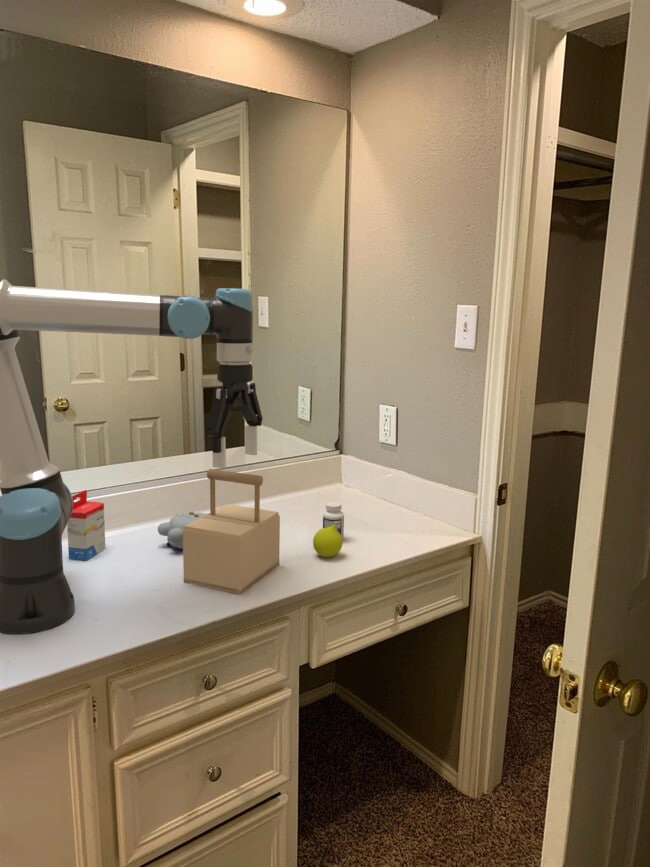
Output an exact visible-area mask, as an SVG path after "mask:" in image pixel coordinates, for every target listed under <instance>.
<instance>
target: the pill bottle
mask: <svg viewBox="0 0 650 867" xmlns="http://www.w3.org/2000/svg"><path fill="white" fill-rule="evenodd" d="M344 515H345V514H344V512H343V511H342V503H341V502H337V501H329V502H326V503H325V511H324V512H323V514H322V528H326V527H331V526H332V525H333V524H334V522H335V521H336V522H337V524H336V528H337V531H338V532H339V533H340V535H341V537H342V542H343V541H344V526H345V525H344V523H345V516H344Z"/></svg>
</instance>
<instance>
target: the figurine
mask: <svg viewBox="0 0 650 867" xmlns="http://www.w3.org/2000/svg"><path fill="white" fill-rule="evenodd" d="M207 514H208V513H204V512H194V511H189V512H183V513H179V514H178V513H177V514H176V515H173V516H172V517H171V518H170V520H169V521H166V522H162V523H160V524H159V525H158V527H157V532H158V535H160V536H163V537H167V539H166V540H167V542H166V546H167V547H168V548H170V547H171V548H173V549H174V551H175V553H181V552H182V553H183V529H184V526H185V525H187V524H189V523H191V522H193V521H195V520H197V519H199V518H201V517H202V516H204V515H207Z"/></svg>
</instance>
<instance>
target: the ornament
mask: <svg viewBox="0 0 650 867" xmlns="http://www.w3.org/2000/svg"><path fill="white" fill-rule="evenodd" d="M336 524H337V522H336V521H335V522H334V524H333V525H332V526H331V527H326V528H323V527H322V528H320V529H318V531H317V532H316V533H315V534H314V536H313V540H312V545H313V549H314V550H315V552H316V554H318V555H319V556H321V557H324V558H331V557H334V556H337V554H339V553H340V552H341V549H342V548H343V541H342V537H341V535H340V533H339V532H338V531H337V528H336Z"/></svg>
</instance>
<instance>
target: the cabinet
mask: <svg viewBox="0 0 650 867" xmlns="http://www.w3.org/2000/svg"><path fill="white" fill-rule="evenodd" d="M280 522H281V516H280V515H278V516H277V517H275V518H274V519H272V520H270V521H269V522H267V523H265V524H264V525H262V526H260V524H259V523H253V522H247V521H241V520H235V519H229V518H223V517H217V516H211V515H204V516H202V517H201V518H199V519H197V520H195V521H193V522H191V523H189V524H187V525H185V526H184V529H183V551H182V556H183V557H182V560H183V563H182V564H183V583H185V584H189V585H193V586H198V587H202V588H203V587H204V588H207V589H212V590H216V591H221V592H224V593H225V592H227V593H232V594H234V595H242V594H243V593H245V592H246V591H247V590H248V589H250V588H251V587H252V586H254V585H255V584H256V583H258V582H259V581H260V580H262V579H263V578H264V577H265V576H267V575H268V574H269V573H271V572H272V571H274V569H276V568H277V567H278V566H280V545H281V544H280V543H281V542H280V541H281V540H280V537H281V535H280V534H281V532H280V531H281V529H280V525H281V524H280Z"/></svg>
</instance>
